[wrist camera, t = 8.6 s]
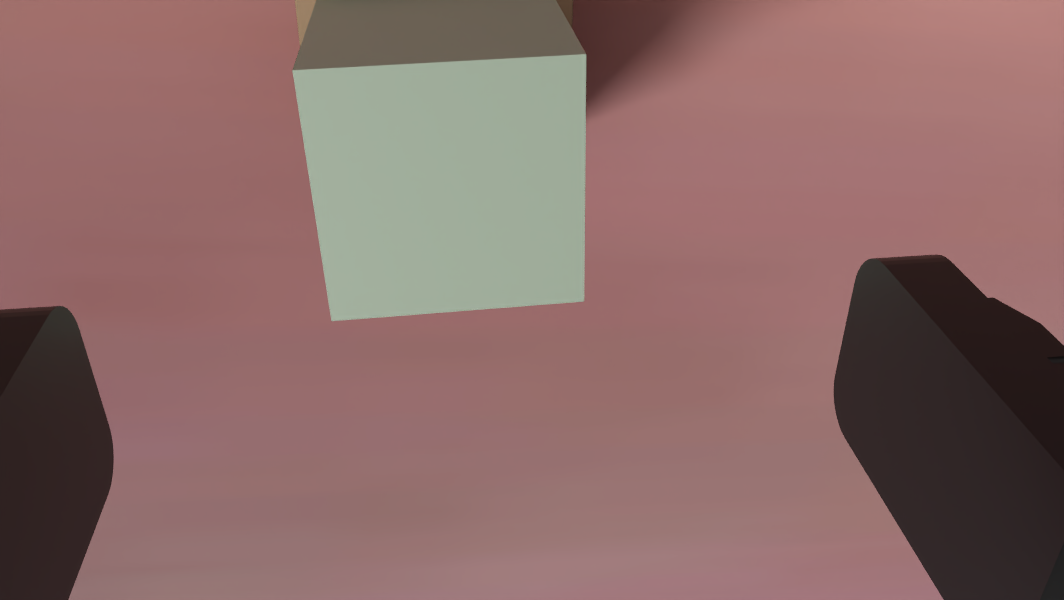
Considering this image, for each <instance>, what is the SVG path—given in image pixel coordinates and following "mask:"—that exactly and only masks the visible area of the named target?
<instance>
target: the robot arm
mask: <svg viewBox="0 0 1064 600" xmlns="http://www.w3.org/2000/svg"><path fill="white" fill-rule="evenodd" d="M834 404H835V410H836V415H837V419H838V423H839V426H840V428H841V431H842V433H843V435H844V437H845V439H846V440H847V442H848V444H849V445H850V447H851V449H852V450H853V452H854V454H855V455H856V457H857V458H858V460H859V462H860V463H861V465H862V467H863V468H864V470H865V472H866V473H867V475H868V476H869V478H870V480H871V481H872V483H873V485H874V486H875V488H876V490H877V491H878V493H879V494H880V496H881V498H882V499H883V501H884V503H885V504H886V506H887V508H888V509H889V511H890V512H891V514H892V516H893V517H894V519H895V521H896V522H897V524H898V526H899V527H900V529H901V530H902V532H903V534H904V535H905V537H906V539H907V540H908V542H909V544H910V545H911V547H912V549H913V550H914V552H915V553H916V555H917V557H918V558H919V560H920V562H921V563H922V565H923V567H924V568H925V570H926V571H927V573H928V575H929V576H930V578H931V580H932V581H933V583H934V585H935V586H936V588H937V589H938V591H939V593H940V594H941V596H942V598H943V599H944V600H1064V345H1062V344H1061V343H1060V342H1059V341H1058V340H1057V339H1056V338H1055V337H1054V336H1053V335H1052V334H1051V333H1050V332H1049V331H1048V330H1047V329H1046V328H1045V327H1044V326H1043V325H1042V324H1040V323H1039V322H1037V321H1035V320H1033V319H1031V318H1030V317H1028V316H1026V315H1024V314H1022V313H1020V312H1019V311H1017V310H1015V309H1013V308H1011V307H1009V306H1008V305H1006V304H1004V303H1002V302H1000V301H999V300H997V299H995V298H987V297H986V296H985V295H984V294H983V293H982V292H981V291H980V290H979V289H978V288H977V287H976V286H975V285H974V284H973V283H972V282H971V281H970V280H969V279H968V278H967V277H966V276H965V275H964V274H963V273H962V272H961V271H960V270H959V269H958V268H957V267H956V266H955V265H954V264H953V263H952V262H951V261H950V260H949V259H947V258H946V257H944V256H942V255H923V256H907V257H890V258H874V259H868V260H867V261H865V262H864V263H863V264H862V265H861V267H860V269H859V271H858V273H857V276H856V279H855V283H854V288H853V293H852V298H851V302H850V307H849V312H848V317H847V321H846V326H845V331H844V336H843V341H842V345H841V350H840V355H839V360H838V364H837V369H836V374H835V380H834ZM112 475H113V443H112V436H111V431H110V428H109V424H108V421H107V418H106V414H105V411H104V408H103V405H102V401H101V398H100V395H99V392H98V388H97V385H96V382H95V379H94V375H93V372H92V369H91V366H90V362H89V359H88V356H87V353H86V350H85V346H84V343H83V340H82V337H81V333H80V330H79V327H78V325H77V322H76V320H75V318H74V316H73V315H72V313H71V312H70V311H69V310H68V309H67V308H65V307H63V306H53V307H37V308H20V309H4V310H0V600H68V599H69V596H70V594H71V591H72V588H73V586H74V583H75V580H76V578H77V575H78V573H79V570H80V567H81V565H82V562H83V559H84V557H85V554H86V551H87V549H88V546H89V543H90V541H91V538H92V536H93V533H94V530H95V528H96V525H97V522H98V520H99V517H100V514H101V512H102V509H103V507H104V504H105V501H106V499H107V496H108V493H109V490H110V486H111V482H112Z"/></svg>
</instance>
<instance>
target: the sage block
mask: <svg viewBox="0 0 1064 600" xmlns="http://www.w3.org/2000/svg"><path fill="white" fill-rule="evenodd" d="M292 71H293V77H294V83H295V90H296V96H297V103H298V109H299V115H300V122H301V128H302V135H303V141H304V147H305V154H306V160H307V167H308V173H309V179H310V186H311V192H312V199H313V205H314V211H315V218H316V224H317V231H318V237H319V244H320V250H321V256H322V263H323V269H324V276H325V282H326V288H327V295H328V301H329V308H330V314H331V320H332V321H339V320H352V319H365V318H378V317H390V316H403V315H416V314H429V313H442V312H455V311H467V310H480V309H493V308H506V307H519V306H532V305H544V304H557V303H570V302H583V301H584V257H585V144H586V53H585V51H584V49H583V47H582V46H581V44H580V42H579V40H578V38H577V37H576V35H575V33H574V31H573V30H572V28H571V26H570V24H569V22H568V21H567V19H566V17H565V15H564V14H563V12H562V10H561V8H560V6H559V5H558V3H557V1H556V0H316V2H315V5H314V8H313V11H312V14H311V17H310V20H309V23H308V26H307V29H306V32H305V35H304V38H303V41H302V44H301V47H300V50H299V53H298V55H297V58H296V61H295V64H294V67H293V70H292Z"/></svg>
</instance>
